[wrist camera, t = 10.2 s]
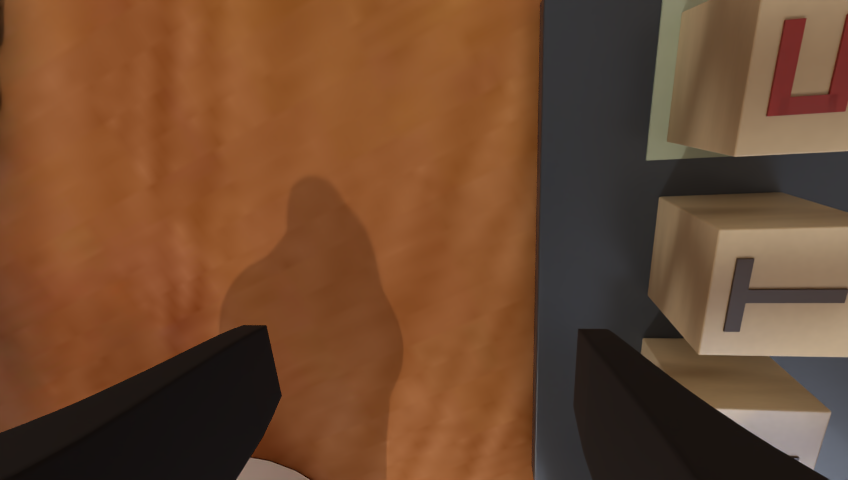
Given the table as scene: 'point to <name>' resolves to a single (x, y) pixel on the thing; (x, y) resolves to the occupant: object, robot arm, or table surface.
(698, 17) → the block
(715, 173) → the letter board
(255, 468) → the honey pot
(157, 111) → the table surface
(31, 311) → the table surface
